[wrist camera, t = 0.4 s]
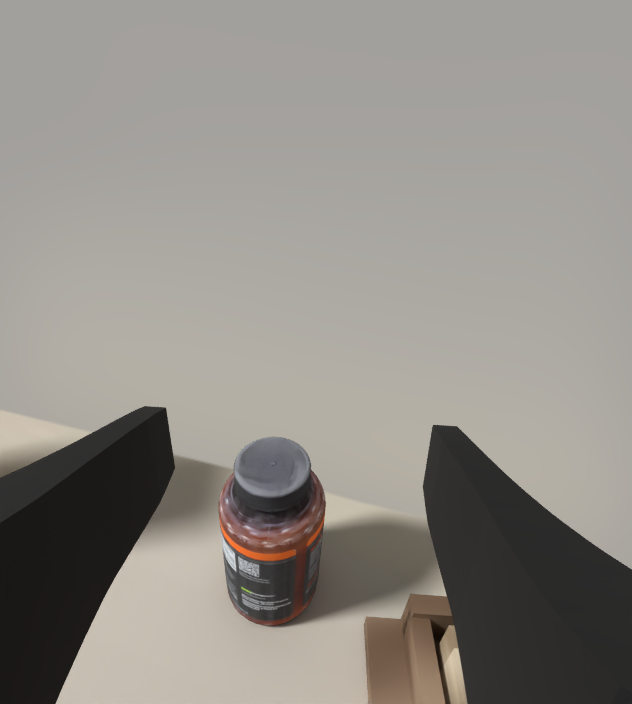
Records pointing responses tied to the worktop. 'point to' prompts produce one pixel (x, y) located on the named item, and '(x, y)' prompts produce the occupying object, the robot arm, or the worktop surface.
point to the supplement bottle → (272, 530)
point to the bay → (407, 653)
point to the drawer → (451, 668)
